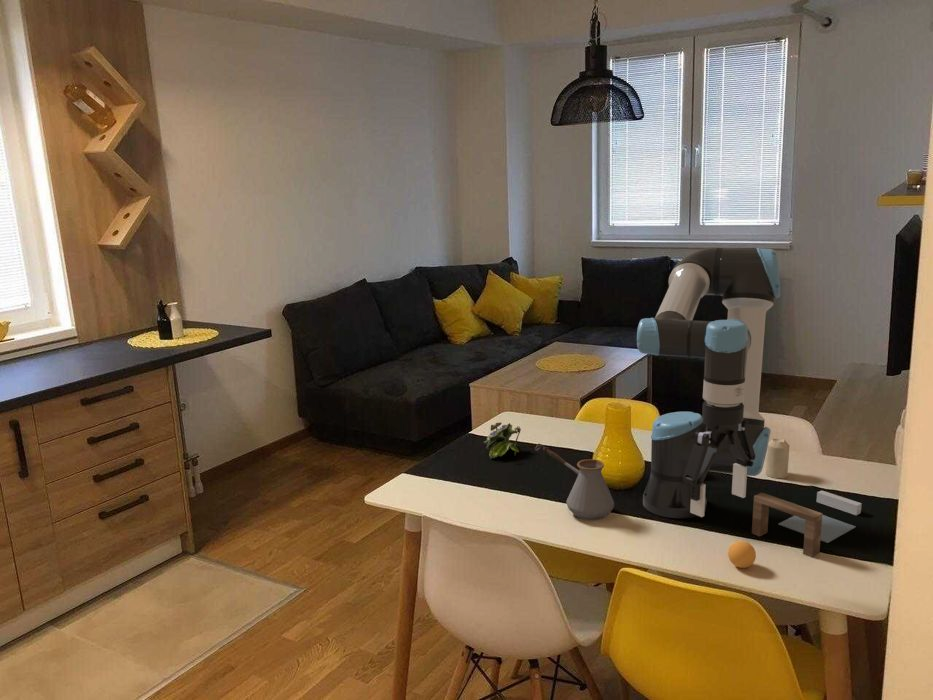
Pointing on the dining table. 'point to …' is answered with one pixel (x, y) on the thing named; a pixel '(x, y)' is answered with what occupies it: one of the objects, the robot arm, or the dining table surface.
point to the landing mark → (828, 530)
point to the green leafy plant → (501, 440)
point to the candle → (777, 458)
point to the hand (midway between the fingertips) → (718, 504)
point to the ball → (741, 554)
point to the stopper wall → (839, 502)
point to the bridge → (811, 517)
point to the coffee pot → (587, 489)
